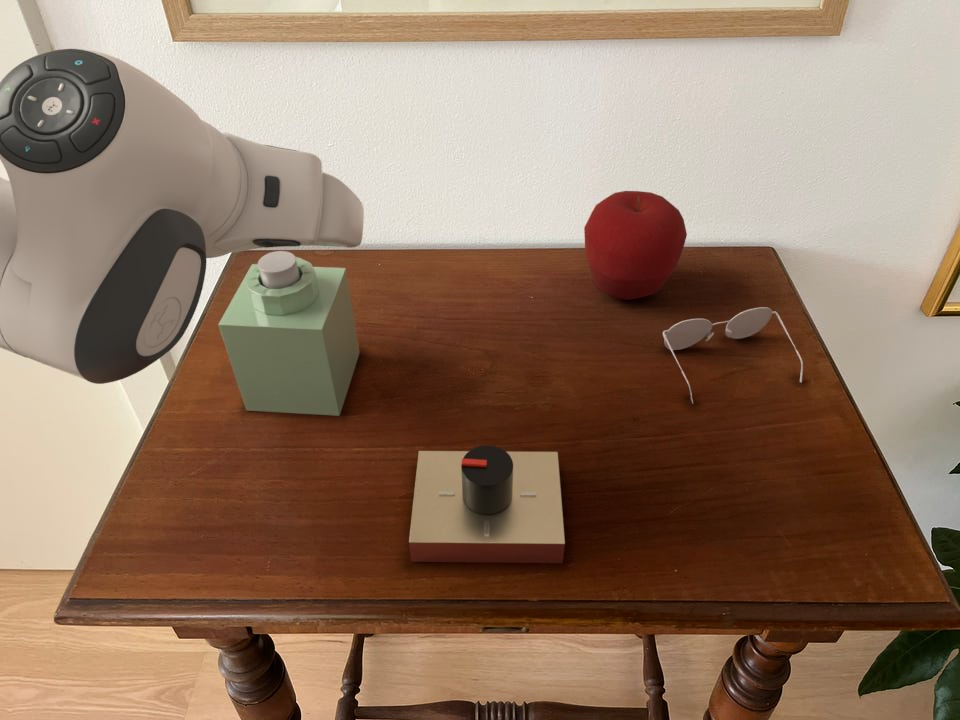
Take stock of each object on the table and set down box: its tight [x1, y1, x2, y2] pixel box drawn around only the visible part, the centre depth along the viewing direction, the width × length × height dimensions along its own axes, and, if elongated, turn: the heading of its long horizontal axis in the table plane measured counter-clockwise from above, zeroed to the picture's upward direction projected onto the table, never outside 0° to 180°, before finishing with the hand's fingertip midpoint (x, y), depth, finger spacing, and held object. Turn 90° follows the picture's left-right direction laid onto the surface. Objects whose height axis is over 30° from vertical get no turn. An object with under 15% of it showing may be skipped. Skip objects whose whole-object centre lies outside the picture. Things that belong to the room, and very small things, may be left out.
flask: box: [217, 256, 361, 417], centre depth 75 cm, size 10×10×14 cm
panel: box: [408, 450, 566, 564], centre depth 65 cm, size 10×13×3 cm
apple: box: [583, 190, 688, 301], centre depth 86 cm, size 12×12×13 cm
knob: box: [461, 445, 513, 514], centre depth 62 cm, size 4×4×4 cm
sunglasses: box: [662, 306, 804, 404], centre depth 79 cm, size 14×8×5 cm, turn 104°
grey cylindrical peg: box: [257, 250, 300, 289], centre depth 69 cm, size 4×4×2 cm
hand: (268, 235), depth 66 cm, fingers closed
